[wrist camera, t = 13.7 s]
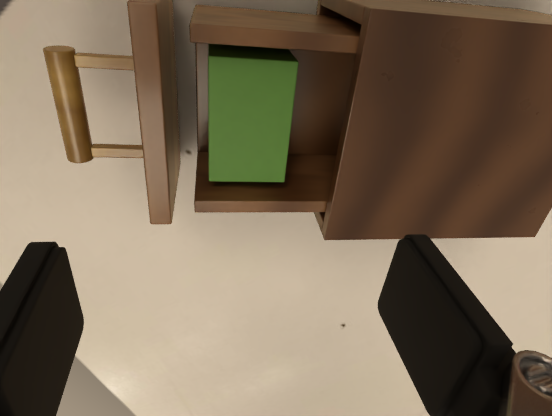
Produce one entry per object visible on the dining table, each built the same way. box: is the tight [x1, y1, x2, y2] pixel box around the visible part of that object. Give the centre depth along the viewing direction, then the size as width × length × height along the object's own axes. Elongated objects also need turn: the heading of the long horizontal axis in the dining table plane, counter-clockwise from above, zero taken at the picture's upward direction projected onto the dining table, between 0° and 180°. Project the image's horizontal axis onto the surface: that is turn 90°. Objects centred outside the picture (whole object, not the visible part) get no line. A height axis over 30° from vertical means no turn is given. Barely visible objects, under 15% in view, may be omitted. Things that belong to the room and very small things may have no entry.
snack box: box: [208, 44, 299, 182], centre depth 23 cm, size 4×7×6 cm, turn 175°
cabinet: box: [314, 0, 552, 240], centre depth 25 cm, size 15×13×10 cm
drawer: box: [43, 0, 362, 224], centre depth 23 cm, size 18×11×8 cm, turn 85°
